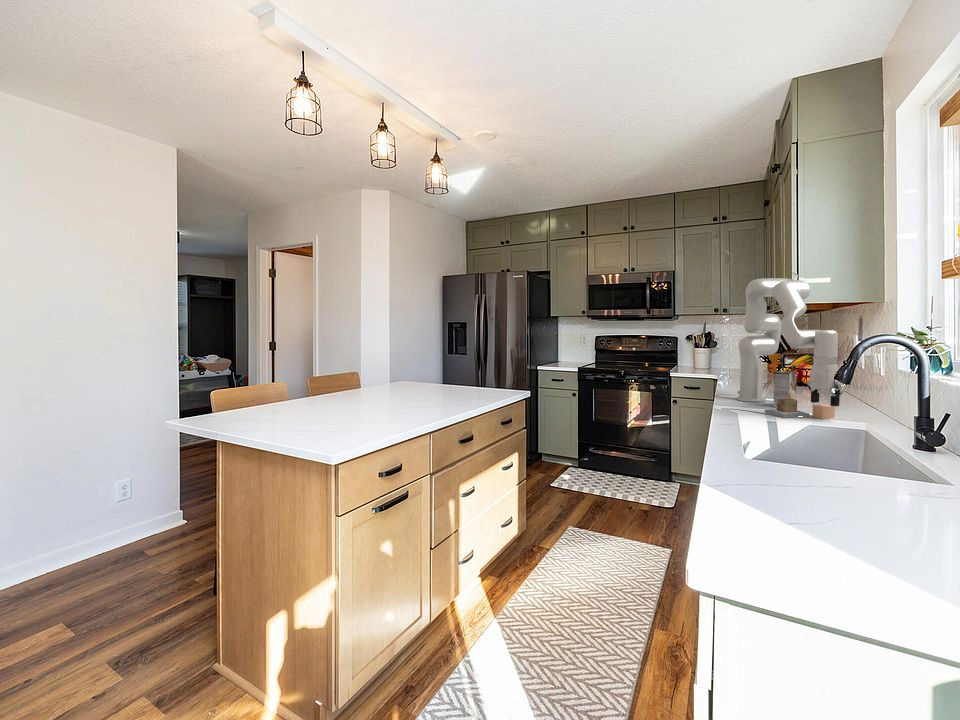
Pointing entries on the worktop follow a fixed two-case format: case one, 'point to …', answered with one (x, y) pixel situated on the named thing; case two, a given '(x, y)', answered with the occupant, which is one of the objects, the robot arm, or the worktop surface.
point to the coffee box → (784, 385)
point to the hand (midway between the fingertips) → (824, 404)
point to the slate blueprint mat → (787, 415)
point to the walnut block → (786, 405)
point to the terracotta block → (823, 411)
